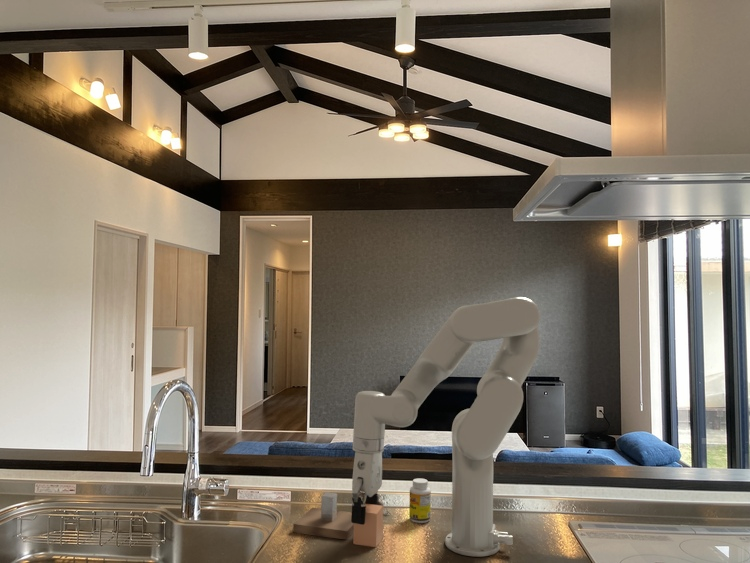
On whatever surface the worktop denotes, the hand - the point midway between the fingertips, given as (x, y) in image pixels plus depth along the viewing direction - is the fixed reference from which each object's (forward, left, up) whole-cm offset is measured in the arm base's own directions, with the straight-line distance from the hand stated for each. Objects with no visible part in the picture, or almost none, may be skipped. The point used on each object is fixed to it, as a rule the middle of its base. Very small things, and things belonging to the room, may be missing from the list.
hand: (364, 516), depth 132 cm
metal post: (+11, -5, -4) cm, 13 cm away
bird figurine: (+1, -16, -6) cm, 17 cm away
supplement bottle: (-10, -17, -6) cm, 21 cm away
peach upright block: (-1, 0, -6) cm, 6 cm away
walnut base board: (+11, -5, -6) cm, 13 cm away
